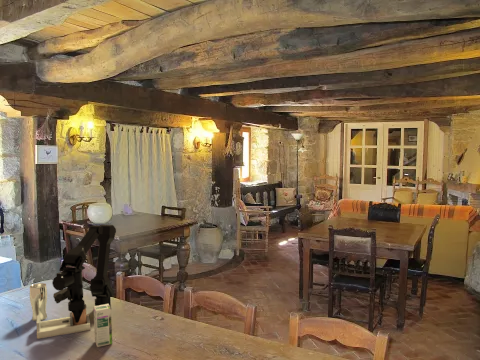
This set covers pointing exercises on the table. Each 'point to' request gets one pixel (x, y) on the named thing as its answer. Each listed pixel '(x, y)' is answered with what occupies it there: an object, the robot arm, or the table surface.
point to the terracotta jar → (81, 318)
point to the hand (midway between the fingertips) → (76, 318)
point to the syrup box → (102, 325)
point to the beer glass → (38, 300)
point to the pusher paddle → (68, 320)
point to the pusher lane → (58, 327)
